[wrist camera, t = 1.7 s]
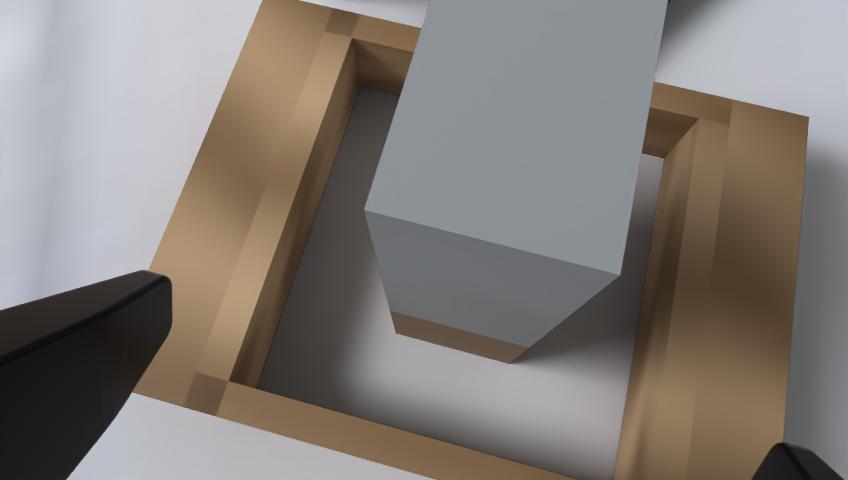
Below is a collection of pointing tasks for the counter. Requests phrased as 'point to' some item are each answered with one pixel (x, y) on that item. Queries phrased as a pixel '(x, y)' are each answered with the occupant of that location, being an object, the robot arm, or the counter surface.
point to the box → (512, 167)
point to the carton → (663, 290)
